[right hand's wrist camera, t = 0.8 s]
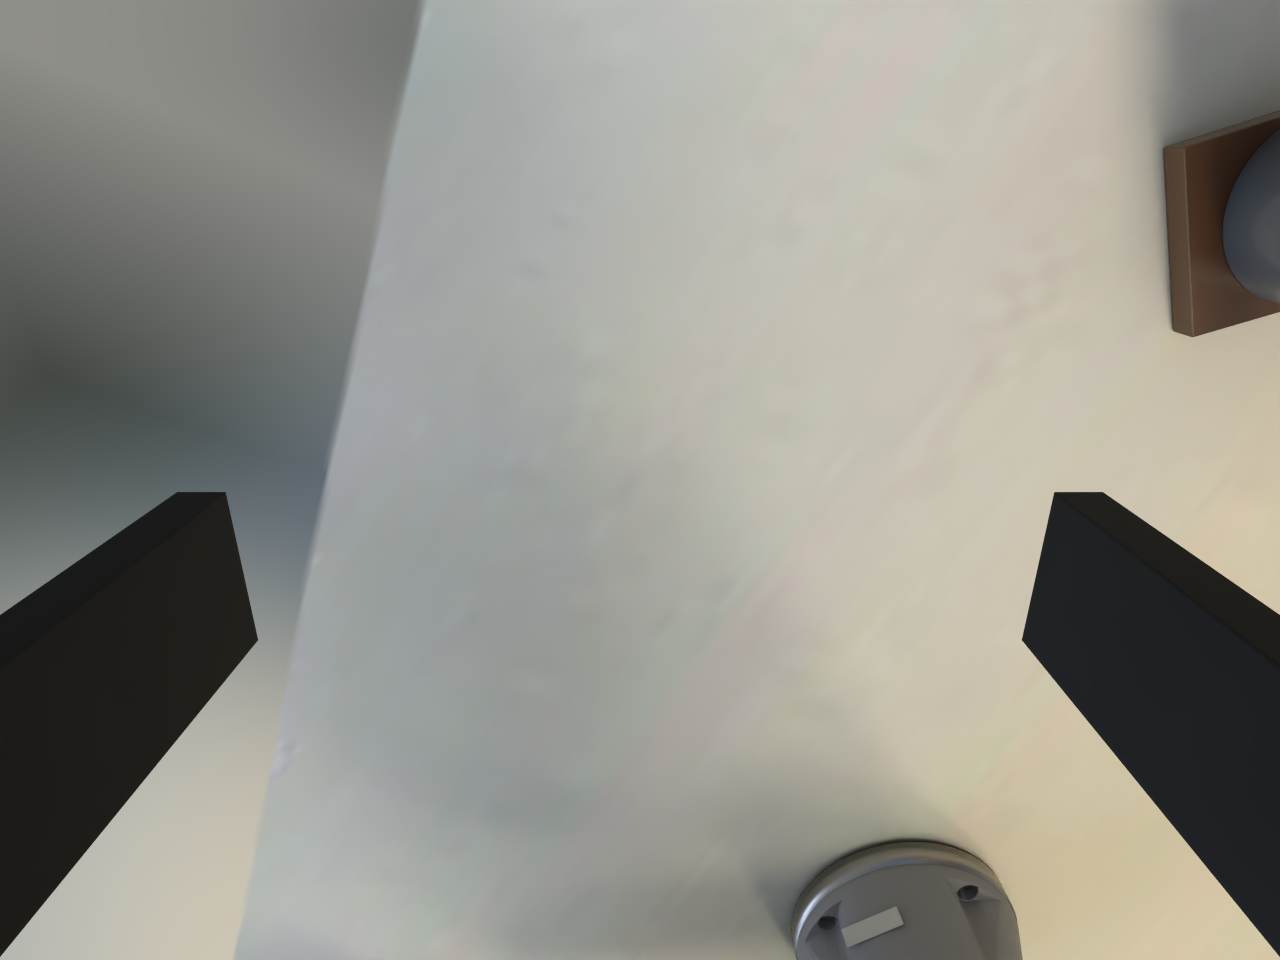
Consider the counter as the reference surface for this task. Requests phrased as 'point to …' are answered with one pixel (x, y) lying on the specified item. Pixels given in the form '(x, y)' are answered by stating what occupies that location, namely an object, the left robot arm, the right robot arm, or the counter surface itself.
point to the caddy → (1224, 226)
